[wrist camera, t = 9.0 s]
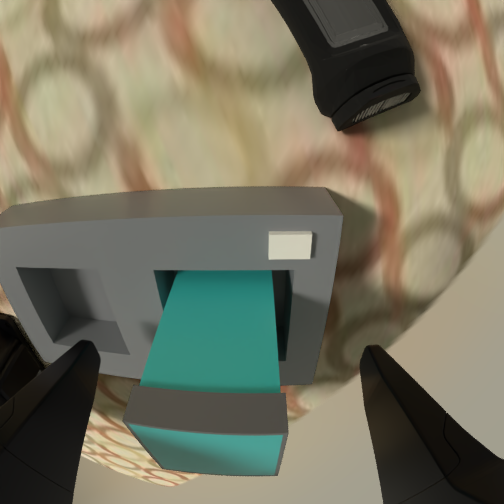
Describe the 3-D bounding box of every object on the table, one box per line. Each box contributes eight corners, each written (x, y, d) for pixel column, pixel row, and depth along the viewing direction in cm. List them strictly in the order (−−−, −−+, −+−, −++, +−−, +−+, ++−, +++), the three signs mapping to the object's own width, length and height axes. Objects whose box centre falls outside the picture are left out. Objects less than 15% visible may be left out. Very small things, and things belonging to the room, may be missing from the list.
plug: (193, 317, 13) (162, 468, 7) (181, 250, 11) (122, 421, 5) (270, 318, 13) (277, 475, 7) (273, 250, 11) (288, 432, 5)
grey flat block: (61, 331, 14) (42, 363, 12) (11, 205, 10) (-24, 232, 8) (305, 343, 14) (312, 387, 12) (325, 187, 10) (345, 218, 8)
